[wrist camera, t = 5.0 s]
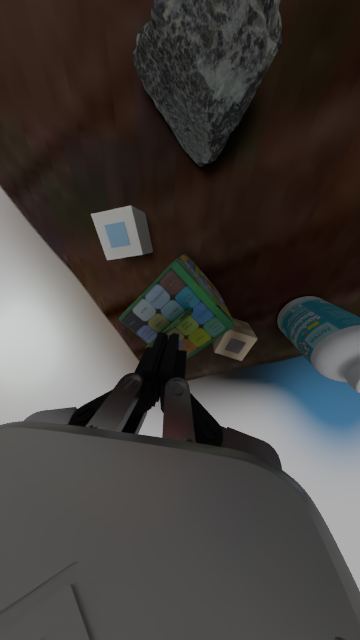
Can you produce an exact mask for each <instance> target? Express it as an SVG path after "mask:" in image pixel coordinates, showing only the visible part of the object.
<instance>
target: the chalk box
mask: <svg viewBox="0 0 360 640" xmlns="http://www.w3.org/2000/svg"><path fill="white" fill-rule="evenodd" d="M119 320H120V321H121V322H122V323H123V324H125V325H126V326H127V327H128V328H130V329H131V330H132V331H133V332H134V333H136V334H137V335H138V336H139V337H140V338H142V339H143V340H144V341H145V342H146V343H148V345H147V346H146V348H147V347H152V346H153V344H154V341H155V339H156V337H157V334H158V332H165V333H166V334H168V338H169V335H172V333H177V334H179V350H184V351H187V358H186V360H187V359H188V358H190V357H191V356H193V355H194V354H196V353H197V352H199V351H200V350H202V349H203V348H205V347H206V346H207V345H209V344H210V343H212V342H213V341H214V340H216V339H217V338H219V337H220V336H222V335H223V334H224V333H226V332H227V331H229V330H230V329H232V328H233V327H234V326H235V323H234V321H233V319H232V317H231V315H230V313H229V311H228V309H227V307H226V305H225V303H224V301H223V299H222V297H221V295H220V293H219V291H218V290H217V289H216V288H215V287H214V285H213V284H212V283H211V282H210V281H209V279H208V278H207V277H206V276H205V275H204V273H203V272H202V271H201V270H200V269H199V268H198V266H197V265H196V264H195V263H194V262H193V261H192V260H191V258H190V257H189V256H188V255H187V254H186V253H183V254H182V255H181V256H180V257H178V258H177V259H175V260H174V261H173V262H172V263H171V264H170V265H169V266H168V267H167V268H166V269H165V270H164V271H163V272H162V274H161V275H160V276H159V277H158V278H157V279H156V280H155V281H154V282H153V283H152V284H151V285H150V286H149V287H148V288H147V290H145V291H144V292H143V293H142V294H141V295H140V296H139V297H138V298H137V299H136V300H135V301H134V302H133V303H132V304H131V305H130V306H129V307H128V309H127V310H126V311H125V312H124V313H123V314H122V315H121V316H120V317H119Z"/></svg>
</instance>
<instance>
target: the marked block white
mask: <svg viewBox="0 0 360 640" xmlns="http://www.w3.org/2000/svg"><path fill="white" fill-rule="evenodd" d="M91 216H92V219H93V222H94V225H95V227H96V230H97V233H98V236H99V239H100V242H101V245H102V247H103V250H104V253H105V256H106V259H107V260H112V259H119V258H125V257H132V256H138V255H144V254H148V253H152V252H153V249H152V244H151V239H150V234H149V229H148V224H147V220H146V215H145V213H144V212H142V211H140V210H138V209H137V208H135V207H133V206H126V207H122V208H117V209H113V210H108V211H103V212H99V213H94V214H91Z"/></svg>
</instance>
